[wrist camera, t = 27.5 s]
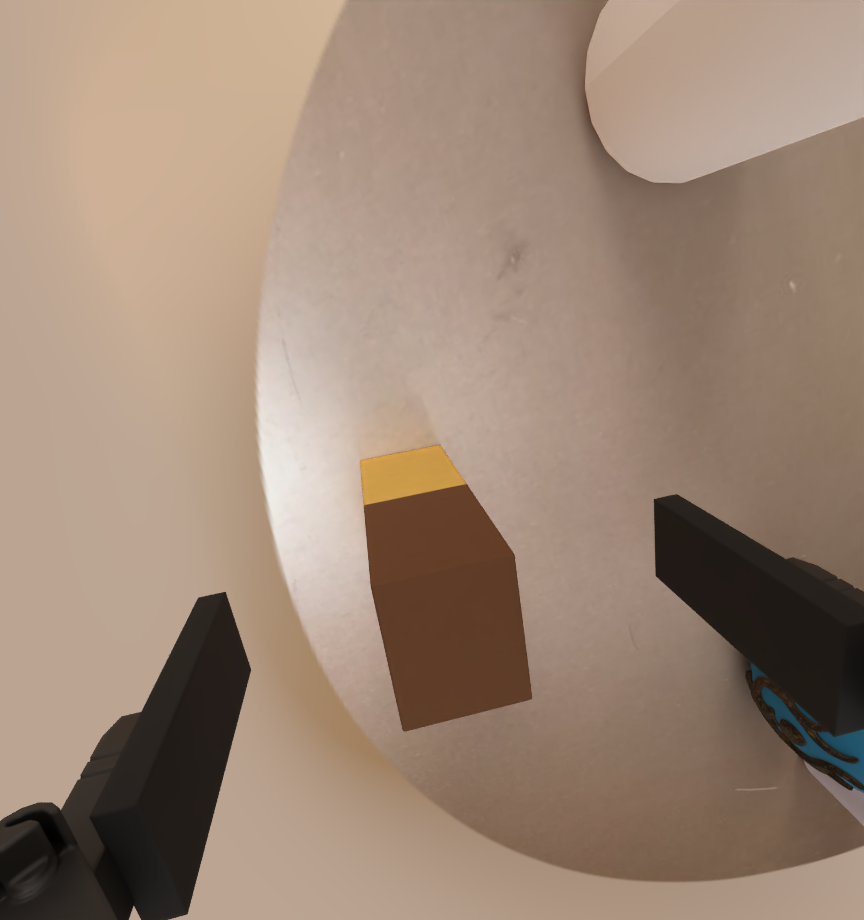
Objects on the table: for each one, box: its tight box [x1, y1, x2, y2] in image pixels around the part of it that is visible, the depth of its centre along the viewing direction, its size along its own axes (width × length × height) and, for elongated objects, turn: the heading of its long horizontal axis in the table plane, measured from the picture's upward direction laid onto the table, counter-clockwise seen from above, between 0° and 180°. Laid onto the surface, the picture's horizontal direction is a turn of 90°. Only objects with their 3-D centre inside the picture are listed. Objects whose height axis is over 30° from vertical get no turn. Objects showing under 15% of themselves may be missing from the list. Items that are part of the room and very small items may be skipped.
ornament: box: [745, 663, 864, 793], centre depth 28 cm, size 8×5×10 cm, turn 27°
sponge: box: [360, 445, 532, 731], centre depth 20 cm, size 4×5×12 cm
